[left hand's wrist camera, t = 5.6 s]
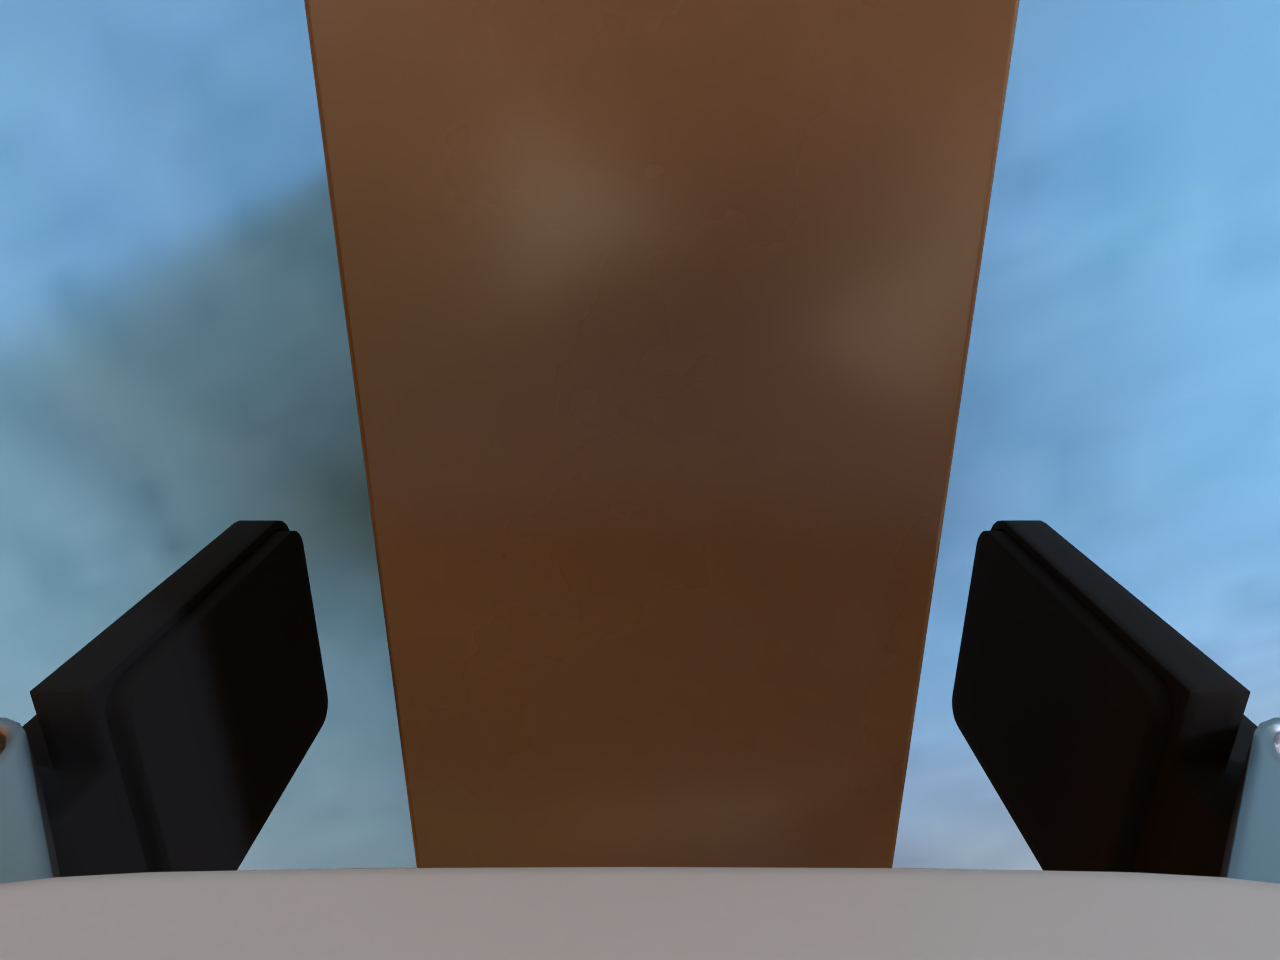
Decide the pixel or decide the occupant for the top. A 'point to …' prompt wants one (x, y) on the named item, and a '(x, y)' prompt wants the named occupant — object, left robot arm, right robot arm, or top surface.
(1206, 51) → the top surface
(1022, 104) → the top surface
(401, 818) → the top surface
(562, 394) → the bar
